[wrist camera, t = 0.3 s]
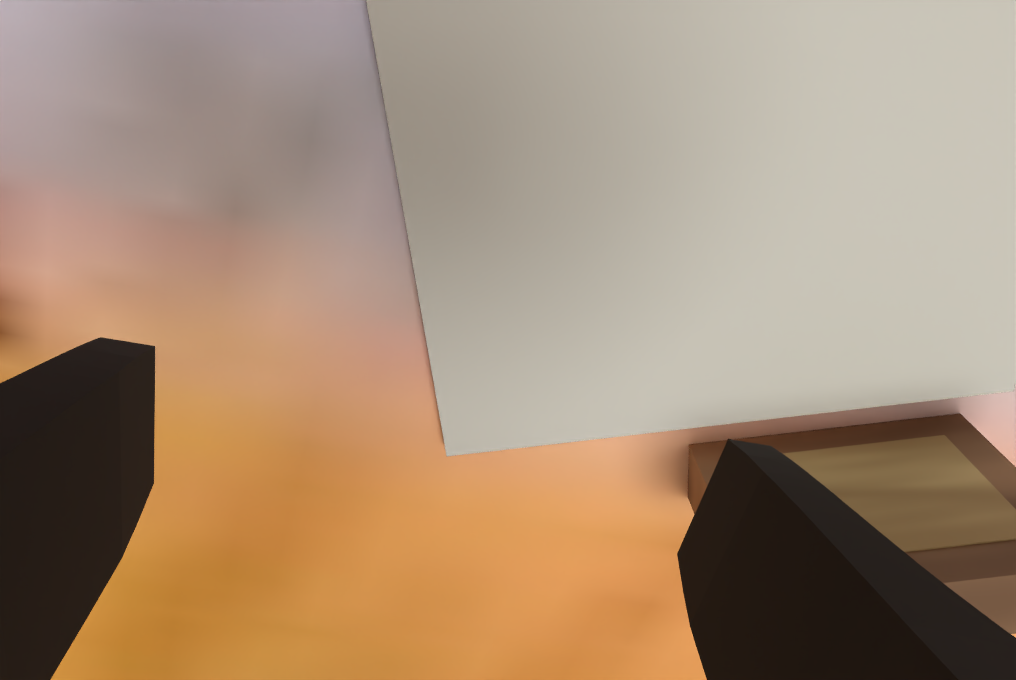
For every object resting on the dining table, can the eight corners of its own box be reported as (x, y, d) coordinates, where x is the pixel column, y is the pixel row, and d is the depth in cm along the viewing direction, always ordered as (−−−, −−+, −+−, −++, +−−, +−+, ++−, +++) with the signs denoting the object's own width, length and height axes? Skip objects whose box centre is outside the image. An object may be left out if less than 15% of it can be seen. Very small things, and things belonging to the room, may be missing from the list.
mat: (1002, 381, 21) (1013, 391, 21) (447, 445, 21) (446, 456, 21) (1192, -356, 14) (1216, -366, 13) (324, -254, 14) (319, -261, 13)
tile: (946, 465, 23) (1090, 625, 18) (687, 495, 23) (754, 663, 18) (959, 410, 22) (1115, 562, 17) (688, 442, 22) (759, 603, 17)
